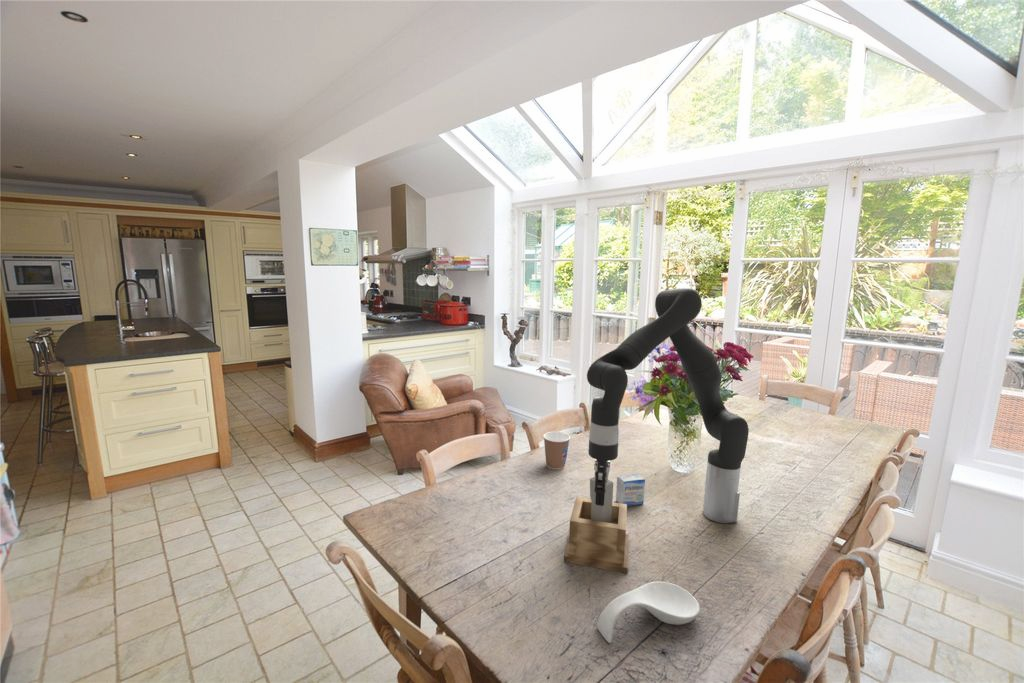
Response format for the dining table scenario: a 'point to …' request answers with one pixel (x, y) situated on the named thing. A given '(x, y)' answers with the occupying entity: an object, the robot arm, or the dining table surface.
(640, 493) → the medicine box
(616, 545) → the socket block
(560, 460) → the coffee cup
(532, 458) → the dining table surface
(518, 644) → the dining table surface
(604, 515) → the vintage mobile phone
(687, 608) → the spoon rest
